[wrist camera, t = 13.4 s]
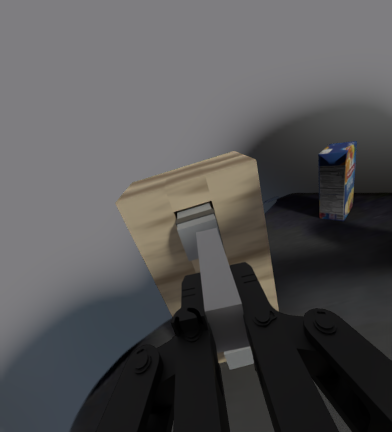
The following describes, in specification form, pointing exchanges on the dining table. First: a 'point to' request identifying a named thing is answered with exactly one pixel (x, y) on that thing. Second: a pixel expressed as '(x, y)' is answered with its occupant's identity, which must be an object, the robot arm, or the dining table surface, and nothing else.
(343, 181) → the juice carton
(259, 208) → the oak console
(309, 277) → the dining table surface
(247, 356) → the bottom banded button
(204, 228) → the top banded button
